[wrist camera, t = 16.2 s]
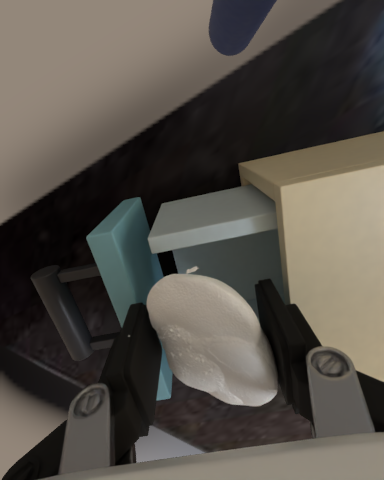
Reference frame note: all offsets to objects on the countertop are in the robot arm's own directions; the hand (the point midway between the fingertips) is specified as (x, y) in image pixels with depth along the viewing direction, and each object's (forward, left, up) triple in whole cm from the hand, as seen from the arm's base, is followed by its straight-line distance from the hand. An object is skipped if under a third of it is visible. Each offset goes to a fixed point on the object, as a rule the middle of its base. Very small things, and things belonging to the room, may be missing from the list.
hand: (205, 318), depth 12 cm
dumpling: (0, 0, -1) cm, 1 cm away
